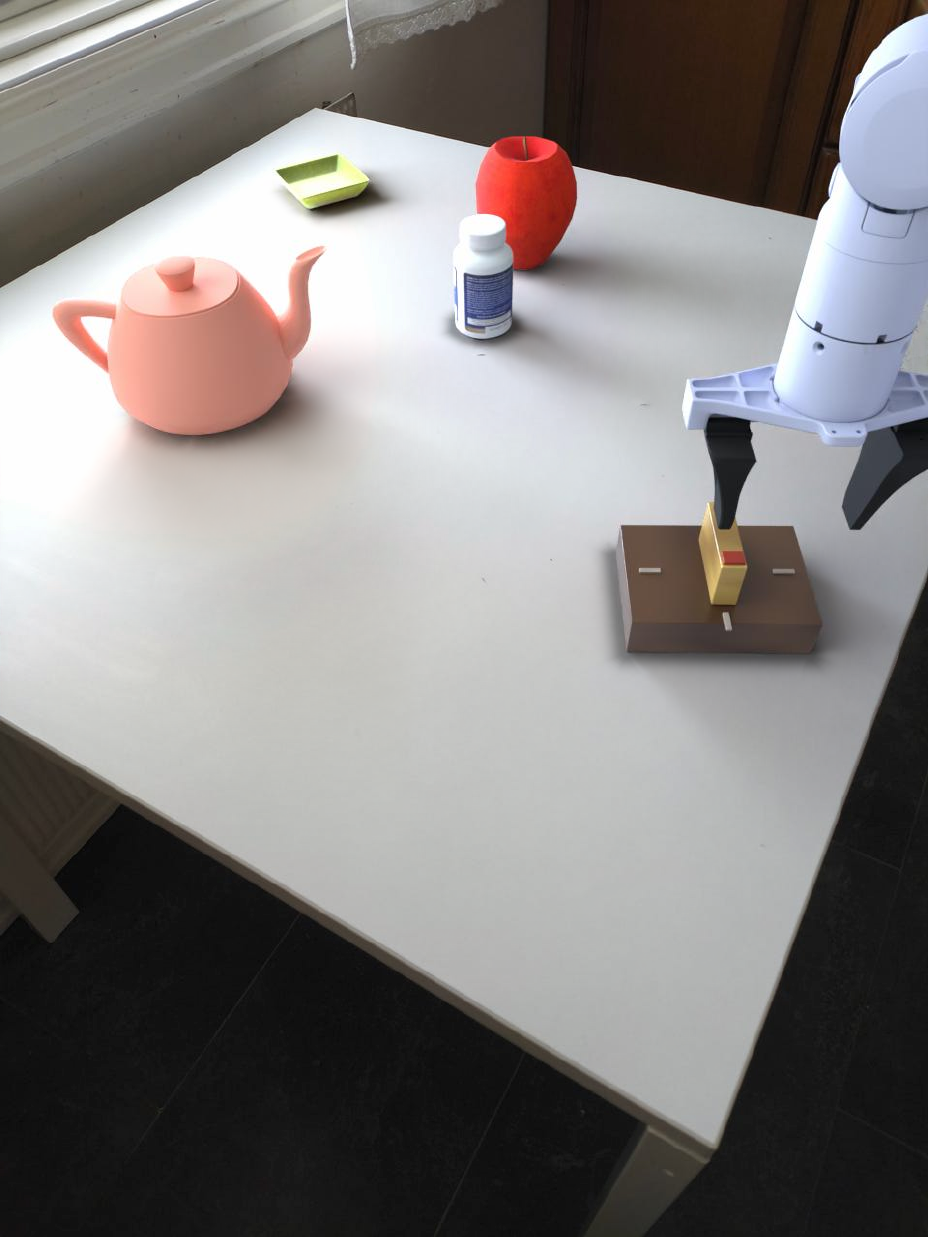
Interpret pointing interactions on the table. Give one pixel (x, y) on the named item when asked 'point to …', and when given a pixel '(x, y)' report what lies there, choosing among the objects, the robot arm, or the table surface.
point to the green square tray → (323, 180)
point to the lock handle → (722, 559)
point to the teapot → (195, 342)
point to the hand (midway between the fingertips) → (786, 518)
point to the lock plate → (680, 602)
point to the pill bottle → (483, 277)
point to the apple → (528, 195)
